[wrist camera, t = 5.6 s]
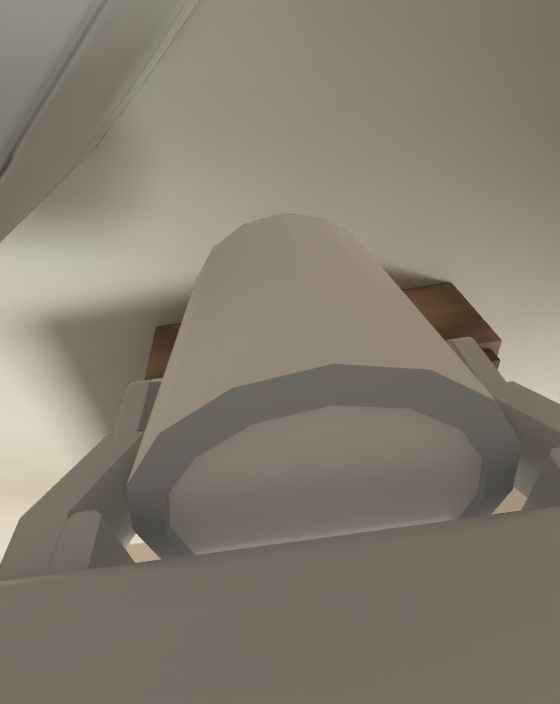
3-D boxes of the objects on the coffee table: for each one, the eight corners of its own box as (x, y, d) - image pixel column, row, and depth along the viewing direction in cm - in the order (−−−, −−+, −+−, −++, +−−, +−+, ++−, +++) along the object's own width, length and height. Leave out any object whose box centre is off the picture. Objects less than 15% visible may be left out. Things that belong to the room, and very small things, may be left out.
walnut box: (451, 282, 22) (511, 351, 18) (420, 462, 32) (453, 536, 28) (156, 327, 22) (138, 409, 17) (216, 494, 32) (216, 574, 28)
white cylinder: (154, 362, 14) (102, 588, 8) (203, 149, 10) (166, 312, 4) (340, 400, 16) (396, 604, 10) (442, 234, 12) (621, 420, 6)
